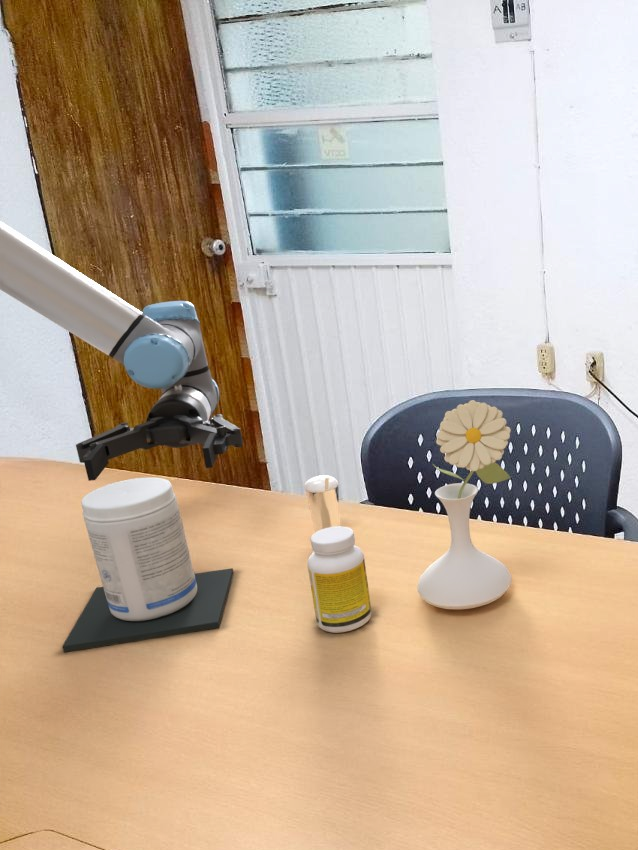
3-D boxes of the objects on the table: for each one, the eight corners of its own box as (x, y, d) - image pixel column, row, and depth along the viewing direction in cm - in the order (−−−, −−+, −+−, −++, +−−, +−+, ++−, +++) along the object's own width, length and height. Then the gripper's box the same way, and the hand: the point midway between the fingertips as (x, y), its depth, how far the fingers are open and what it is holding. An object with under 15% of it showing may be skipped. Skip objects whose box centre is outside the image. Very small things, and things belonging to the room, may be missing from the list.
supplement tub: (205, 579, 105) (182, 472, 100) (190, 617, 97) (164, 501, 92) (121, 590, 103) (94, 481, 98) (98, 630, 94) (67, 512, 89)
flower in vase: (400, 611, 98) (376, 410, 90) (445, 567, 108) (427, 383, 100) (502, 627, 94) (487, 418, 86) (538, 580, 105) (528, 389, 96)
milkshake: (320, 549, 115) (310, 482, 111) (308, 536, 119) (297, 471, 115) (352, 540, 117) (343, 474, 114) (339, 527, 121) (330, 463, 118)
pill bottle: (383, 617, 97) (372, 532, 93) (337, 640, 93) (324, 551, 89) (351, 601, 101) (340, 518, 97) (306, 623, 96) (292, 536, 93)
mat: (63, 652, 92) (61, 646, 91) (97, 593, 104) (96, 587, 104) (219, 627, 96) (217, 621, 96) (233, 573, 108) (232, 567, 108)
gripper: (80, 401, 120) (30, 447, 101) (264, 385, 126) (249, 425, 107) (92, 449, 122) (45, 503, 103) (271, 432, 129) (258, 479, 110)
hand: (149, 464), depth 105 cm, fingers open, 13 cm apart
